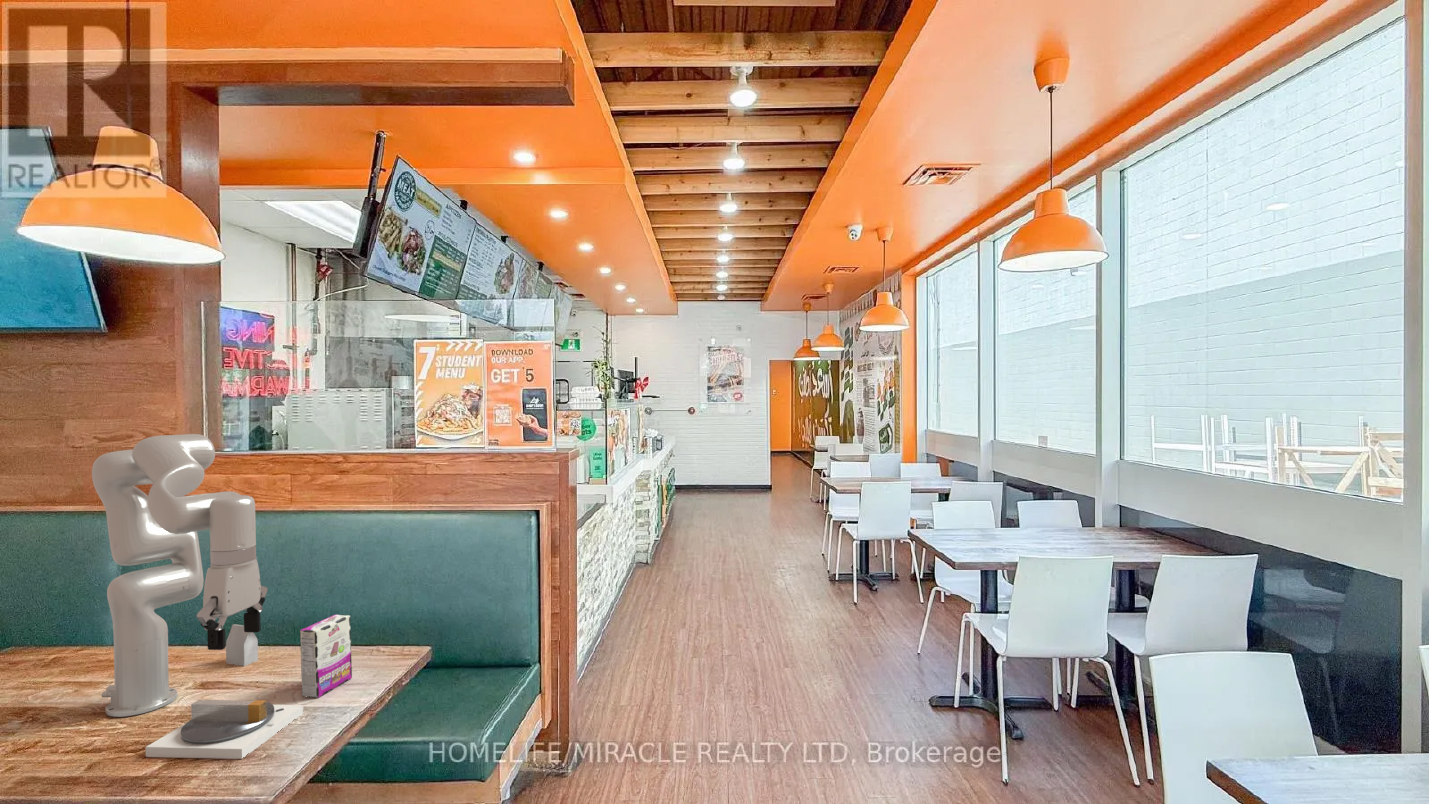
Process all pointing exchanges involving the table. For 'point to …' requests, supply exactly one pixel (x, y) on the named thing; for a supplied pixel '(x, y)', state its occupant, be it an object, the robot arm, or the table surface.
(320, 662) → the candy bar box
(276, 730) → the dial plate
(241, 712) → the dial
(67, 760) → the table surface
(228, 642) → the grey milk carton
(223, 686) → the table surface
